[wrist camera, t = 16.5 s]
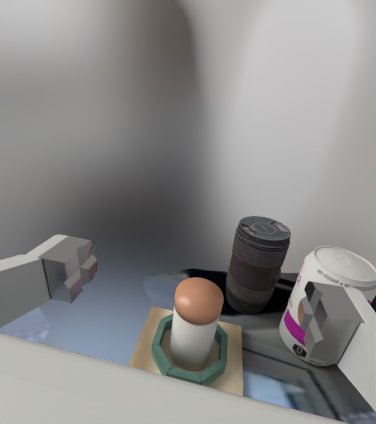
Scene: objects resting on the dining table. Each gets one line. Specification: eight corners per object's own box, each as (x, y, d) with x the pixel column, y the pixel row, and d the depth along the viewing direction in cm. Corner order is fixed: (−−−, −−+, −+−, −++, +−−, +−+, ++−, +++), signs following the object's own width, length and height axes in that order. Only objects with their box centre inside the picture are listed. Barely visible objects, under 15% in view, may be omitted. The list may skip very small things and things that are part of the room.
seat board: (59, 543, 17) (52, 530, 16) (152, 311, 37) (152, 296, 36) (246, 613, 16) (256, 605, 14) (239, 331, 35) (244, 317, 34)
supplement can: (343, 378, 31) (399, 294, 24) (278, 355, 33) (313, 272, 26) (329, 328, 38) (369, 252, 31) (277, 311, 40) (304, 237, 33)
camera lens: (250, 279, 46) (268, 212, 40) (277, 311, 40) (305, 237, 33) (214, 287, 43) (228, 216, 37) (237, 323, 37) (259, 244, 30)
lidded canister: (164, 365, 29) (170, 308, 24) (174, 327, 34) (180, 273, 29) (208, 376, 28) (222, 320, 24) (211, 335, 33) (224, 282, 29)
